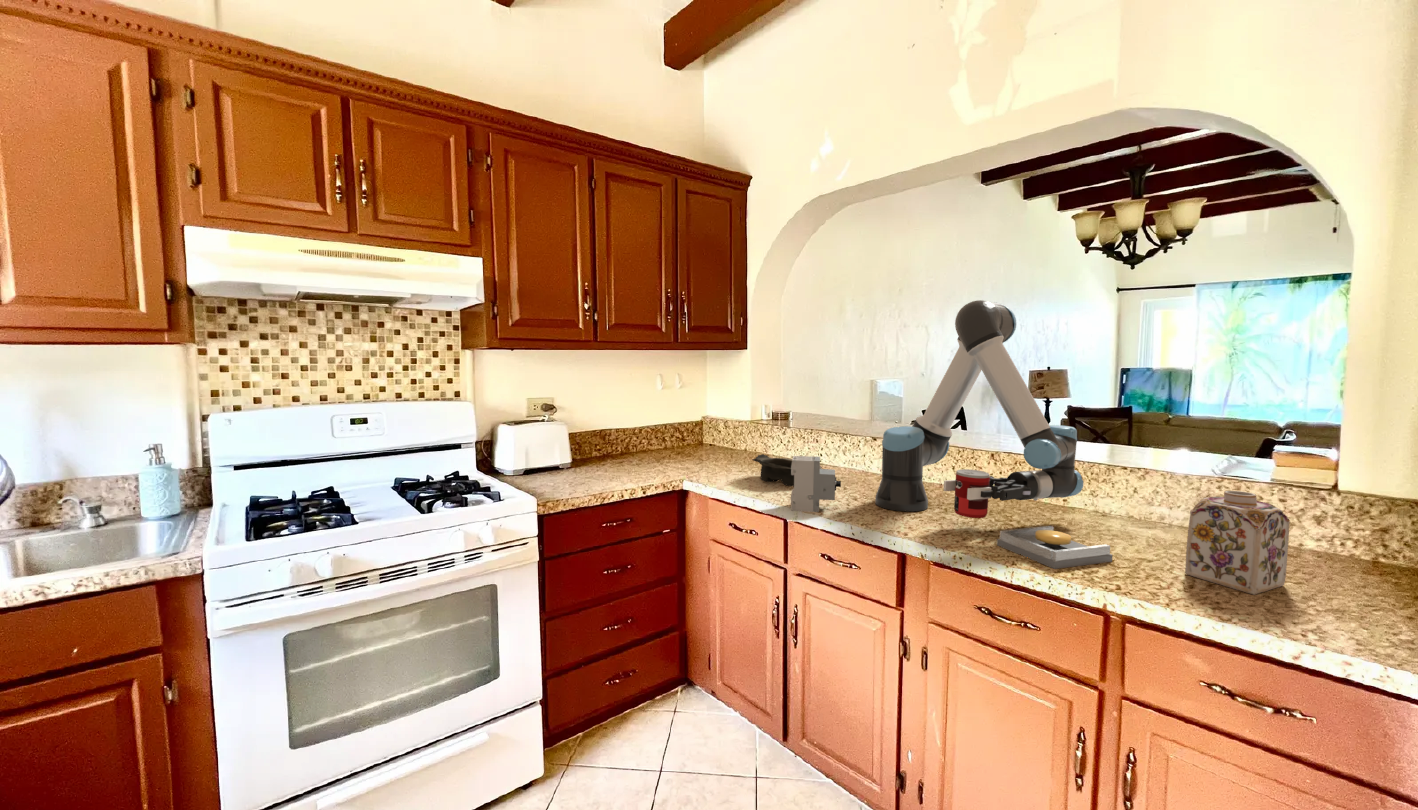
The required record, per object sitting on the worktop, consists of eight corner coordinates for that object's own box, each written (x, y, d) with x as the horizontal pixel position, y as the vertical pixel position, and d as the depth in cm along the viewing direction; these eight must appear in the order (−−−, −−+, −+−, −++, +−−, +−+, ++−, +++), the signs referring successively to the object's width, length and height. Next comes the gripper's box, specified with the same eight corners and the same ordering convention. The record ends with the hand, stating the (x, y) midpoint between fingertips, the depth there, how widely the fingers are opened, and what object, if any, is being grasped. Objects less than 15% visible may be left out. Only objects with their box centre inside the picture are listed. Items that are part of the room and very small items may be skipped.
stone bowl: (739, 481, 204) (740, 456, 204) (777, 476, 223) (778, 452, 223) (799, 491, 188) (800, 463, 188) (834, 484, 207) (835, 458, 207)
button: (1051, 538, 134) (1052, 528, 134) (1078, 548, 128) (1078, 537, 127) (1027, 541, 132) (1028, 531, 132) (1053, 551, 126) (1054, 540, 126)
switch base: (1050, 539, 140) (1050, 525, 140) (1112, 561, 125) (1113, 545, 124) (996, 545, 136) (997, 530, 135) (1054, 568, 120) (1055, 552, 120)
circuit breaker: (840, 513, 164) (841, 461, 162) (790, 510, 166) (791, 460, 165) (839, 506, 171) (840, 457, 170) (792, 504, 174) (792, 455, 172)
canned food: (960, 508, 152) (962, 467, 151) (992, 514, 147) (994, 472, 146) (948, 513, 147) (951, 471, 146) (980, 520, 141) (983, 477, 140)
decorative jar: (1254, 596, 107) (1262, 502, 105) (1182, 574, 117) (1188, 489, 116) (1287, 586, 111) (1295, 496, 110) (1215, 566, 122) (1221, 483, 120)
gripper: (1060, 509, 142) (985, 515, 135) (997, 489, 162) (929, 494, 155) (1063, 480, 141) (987, 485, 135) (999, 463, 161) (930, 467, 155)
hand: (956, 489), depth 145 cm, fingers closed on canned food, 8 cm apart
